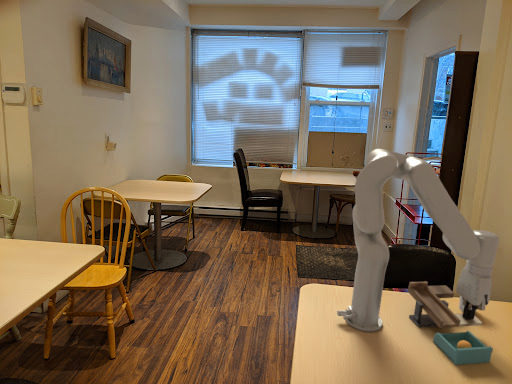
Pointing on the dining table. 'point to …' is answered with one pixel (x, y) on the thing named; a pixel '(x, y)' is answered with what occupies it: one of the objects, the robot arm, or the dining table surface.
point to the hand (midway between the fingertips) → (467, 318)
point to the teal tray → (463, 355)
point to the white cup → (461, 304)
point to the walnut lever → (439, 305)
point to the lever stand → (423, 316)
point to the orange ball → (463, 344)
